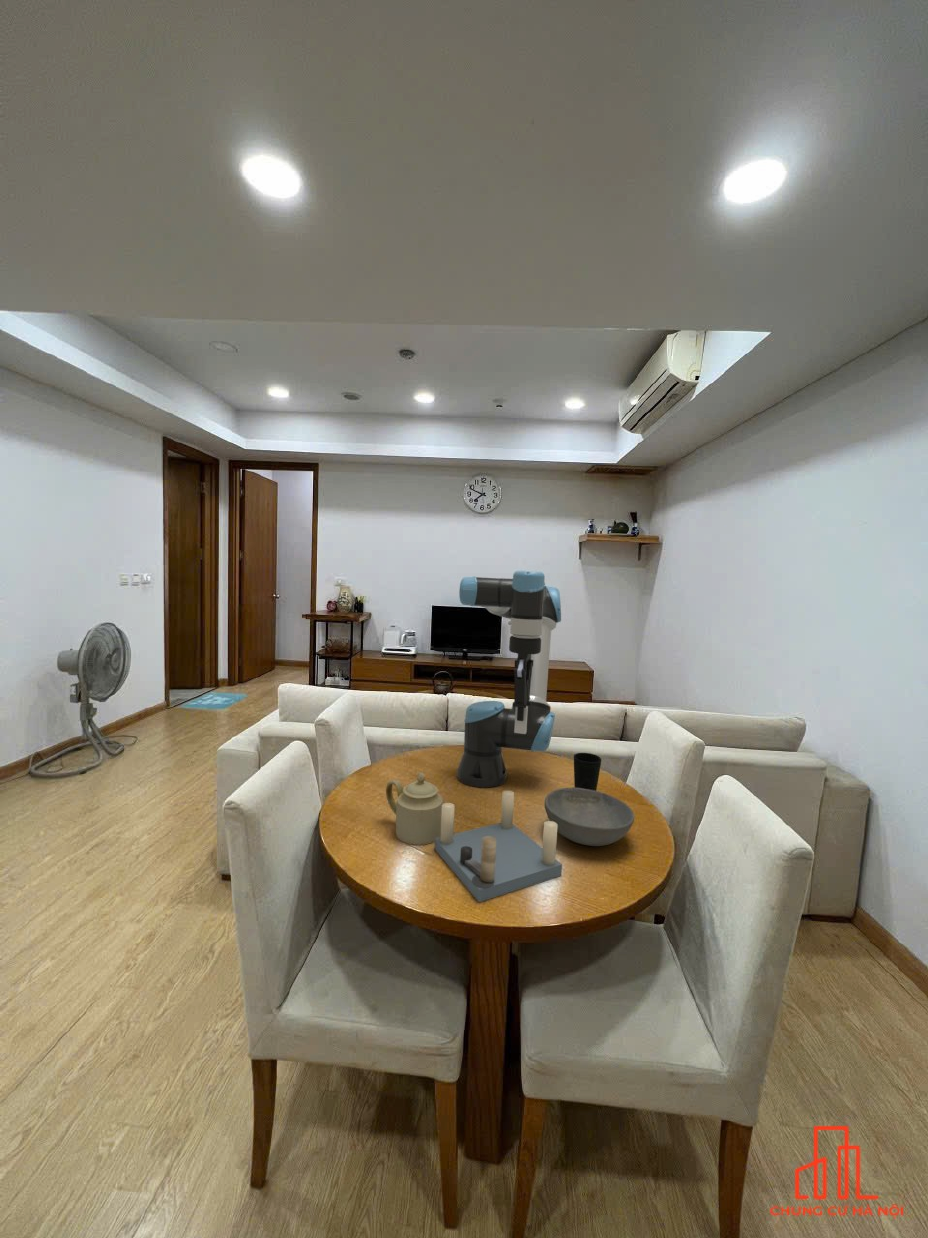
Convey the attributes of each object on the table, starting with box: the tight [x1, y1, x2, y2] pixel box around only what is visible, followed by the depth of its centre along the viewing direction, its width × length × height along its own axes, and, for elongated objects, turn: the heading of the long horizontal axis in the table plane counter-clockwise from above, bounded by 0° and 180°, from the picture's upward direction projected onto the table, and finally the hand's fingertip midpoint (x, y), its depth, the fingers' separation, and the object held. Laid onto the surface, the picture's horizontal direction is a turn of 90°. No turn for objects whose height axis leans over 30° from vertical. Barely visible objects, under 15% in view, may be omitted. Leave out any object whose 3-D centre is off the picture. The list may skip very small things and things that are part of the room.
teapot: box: [385, 772, 444, 846], centre depth 117 cm, size 15×11×15 cm
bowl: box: [544, 787, 635, 847], centre depth 119 cm, size 21×21×8 cm
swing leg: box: [460, 836, 496, 882], centre depth 99 cm, size 10×3×8 cm, turn 37°
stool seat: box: [433, 790, 563, 903], centre depth 106 cm, size 20×20×11 cm
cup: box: [573, 752, 602, 791], centre depth 139 cm, size 8×8×12 cm
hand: (520, 732), depth 119 cm, fingers closed
